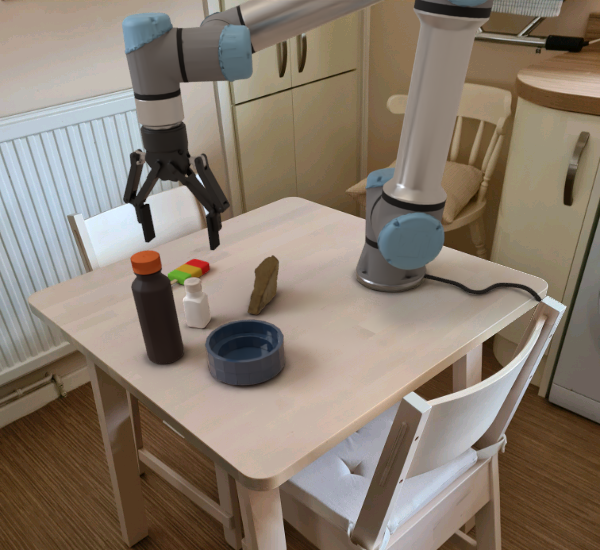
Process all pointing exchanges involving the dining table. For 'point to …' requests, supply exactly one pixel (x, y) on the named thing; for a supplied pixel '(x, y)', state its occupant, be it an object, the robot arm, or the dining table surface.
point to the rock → (264, 284)
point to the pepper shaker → (196, 304)
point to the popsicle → (189, 271)
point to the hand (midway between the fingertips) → (182, 243)
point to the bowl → (245, 352)
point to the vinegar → (156, 308)
